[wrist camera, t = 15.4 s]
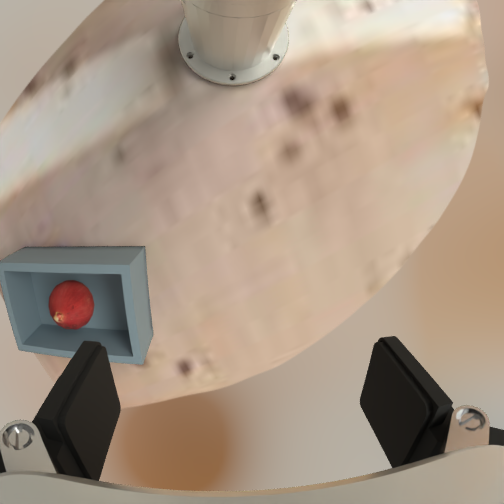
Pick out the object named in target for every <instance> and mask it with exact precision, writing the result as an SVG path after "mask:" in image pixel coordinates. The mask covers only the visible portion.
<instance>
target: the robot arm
mask: <svg viewBox="0 0 504 504" xmlns="http://www.w3.org/2000/svg"><path fill="white" fill-rule="evenodd" d="M296 1H297V0H181V3H182V6H183V10H184V14H185V18H184V19H183V21H182V24H181V26H180V29H179V34H178V44H179V48H180V52H181V54H182V57H183V59H184V60H185V62H186V63H187V65H188V66H189V67H190V68H191V69H192V70H193V71H194V72H195V73H196V74H198V75H199V76H201V77H202V78H204V79H206V80H208V81H211V82H213V83H218V84H222V85H234V86H235V85H244V84H249V83H252V82H256V81H258V80H260V79H262V78H264V77H266V76H267V75H269V74H270V73H271V72H273V71H274V70H275V69H276V68H277V67H278V66H279V64H280V63H281V61H282V60H283V58H284V56H285V54H286V52H287V49H288V45H289V31H288V27H287V24H286V21H287V19H288V17H289V15H290V13H291V11H292V9H293V7H294V5H295V3H296ZM189 56H193V58H191V59H189ZM273 58H276V59H277V60H276V61H275V60H273ZM231 77H233V78H234V80H230V78H231ZM452 404H453V402H452V401H451V400H450V398H449V397H448V396H447V395H446V394H445V393H444V391H443V390H442V389H441V388H440V387H439V385H438V384H437V383H436V382H435V381H434V379H433V378H432V377H431V376H430V375H429V374H428V372H426V370H425V369H424V368H423V367H422V366H421V364H420V363H419V362H418V361H417V360H416V359H415V358H414V356H413V355H412V354H411V353H410V352H409V351H408V350H407V348H406V347H405V346H404V345H403V344H402V343H401V342H400V340H399V339H398V338H397V337H395V336H392V337H384V338H380V339H379V340H378V342H376V343H375V344H374V347H373V351H372V355H371V359H370V363H369V367H368V371H367V375H366V379H365V383H364V386H363V390H362V394H361V397H360V405H361V408H362V410H363V412H364V413H365V416H366V418H367V419H368V421H369V423H370V425H371V427H372V429H373V431H374V433H375V435H376V437H377V439H378V441H379V443H380V445H381V447H382V448H383V450H384V452H385V454H386V456H387V458H388V460H389V462H390V464H391V466H392V468H391V469H388V470H384V471H380V472H376V473H372V474H368V475H363V476H358V477H354V478H349V479H343V480H338V481H333V482H326V483H320V484H313V485H306V486H298V487H290V488H280V489H268V490H253V491H182V490H166V489H155V488H146V487H137V486H129V485H122V484H114V483H108V482H102V481H99V479H100V475H101V472H102V469H103V465H104V462H105V459H106V455H107V452H108V449H109V445H110V442H111V439H112V436H113V433H114V429H115V427H116V424H117V421H118V418H119V414H120V402H119V398H118V395H117V391H116V387H115V383H114V379H113V375H112V371H111V367H110V363H109V359H108V354H107V350H106V347H104V346H102V345H101V343H100V342H96V341H83V342H82V344H81V345H80V347H79V348H78V350H77V351H76V353H75V354H74V356H73V357H72V359H71V360H70V362H69V364H68V365H67V367H66V368H65V370H64V371H63V373H62V375H61V376H60V377H59V378H58V380H57V381H56V383H55V385H54V386H53V388H52V390H51V391H50V393H49V395H48V397H47V398H46V400H45V401H44V403H43V404H42V406H41V408H40V409H39V411H38V413H37V415H36V416H35V418H34V420H33V421H32V422H29V421H27V420H15V421H12V422H10V423H8V424H6V425H5V426H4V427H3V428H2V429H1V431H0V504H504V430H501V429H497V428H493V427H490V422H489V418H488V416H487V414H486V413H485V412H484V411H483V410H481V409H479V408H478V407H474V406H470V405H463V406H460V407H458V408H456V409H455V410H454V409H453V408H452Z"/></svg>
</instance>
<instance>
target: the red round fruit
mask: <svg viewBox="0 0 504 504" xmlns="http://www.w3.org/2000/svg"><path fill="white" fill-rule="evenodd" d="M94 305H95V304H94V300H93V296H92V293H91V292H90V290H89V288H88V287H86V286H85V285H84V284H83V283H81V282H78V281H76V280H66V281H64V282H62V283H60V284H58V285H56V286H55V288H54V289H53V291H52V292H51V294H50V297H49V304H48V307H49V311H50V315H51V317H52V318H53V320H54V321H55V322H56V324H57V325H58V326H60V327H63V328H65V329H76V330H77V329H79V328H81V327H83V326H85V325H86V324H87V323H88V322H89V321H90V319H91V317H92V316H93V312H94Z"/></svg>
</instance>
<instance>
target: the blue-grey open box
mask: <svg viewBox="0 0 504 504" xmlns="http://www.w3.org/2000/svg"><path fill="white" fill-rule="evenodd" d="M66 280H76V281H78V282H81V283H83V284H84V285H85V286H86V287H88V288H89V290H90V292H91V293H92V296H93V300H94V304H95V305H94V312H93V316H92V317H91V319H90V321H89V322H88V323H87V324H86V325H85V326H83V327H81V328H79V329H77V330H76V329H65V328H63V327H60V326H58V325H57V324H56V322H55V321H54V320H53V318H52V317H51V315H50V311H49V307H48V304H49V297H50V294H51V292H52V291H53V289H54V288H55V286H56V285H58V284H60V283H62V282H64V281H66ZM0 282H1V287H2V291H3V296H4V300H5V304H6V308H7V312H8V315H9V319H10V323H11V326H12V330H13V333H14V336H15V339H16V343H17V346H18V349H19V350H21V351H27V352H33V353H39V354H46V355H53V356H60V357H67V358H72V357H73V356H74V354H75V353H76V351H77V350H78V348H79V347H80V345H81V344H82V342H83V341H96V342H100V343H101V345H102V346H104V347H106V350H107V354H108V359H109V362H115V363H128V364H143V363H144V360H145V357H146V354H147V351H148V348H149V345H150V342H151V340H152V337H153V327H152V318H151V309H150V300H149V290H148V278H147V266H146V252H145V246H95V247H24V248H22V249H20V250H18V251H17V252H15V253H13V254H11V255H9V256H8V257H6V258H4V259H2V260H0Z"/></svg>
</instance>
